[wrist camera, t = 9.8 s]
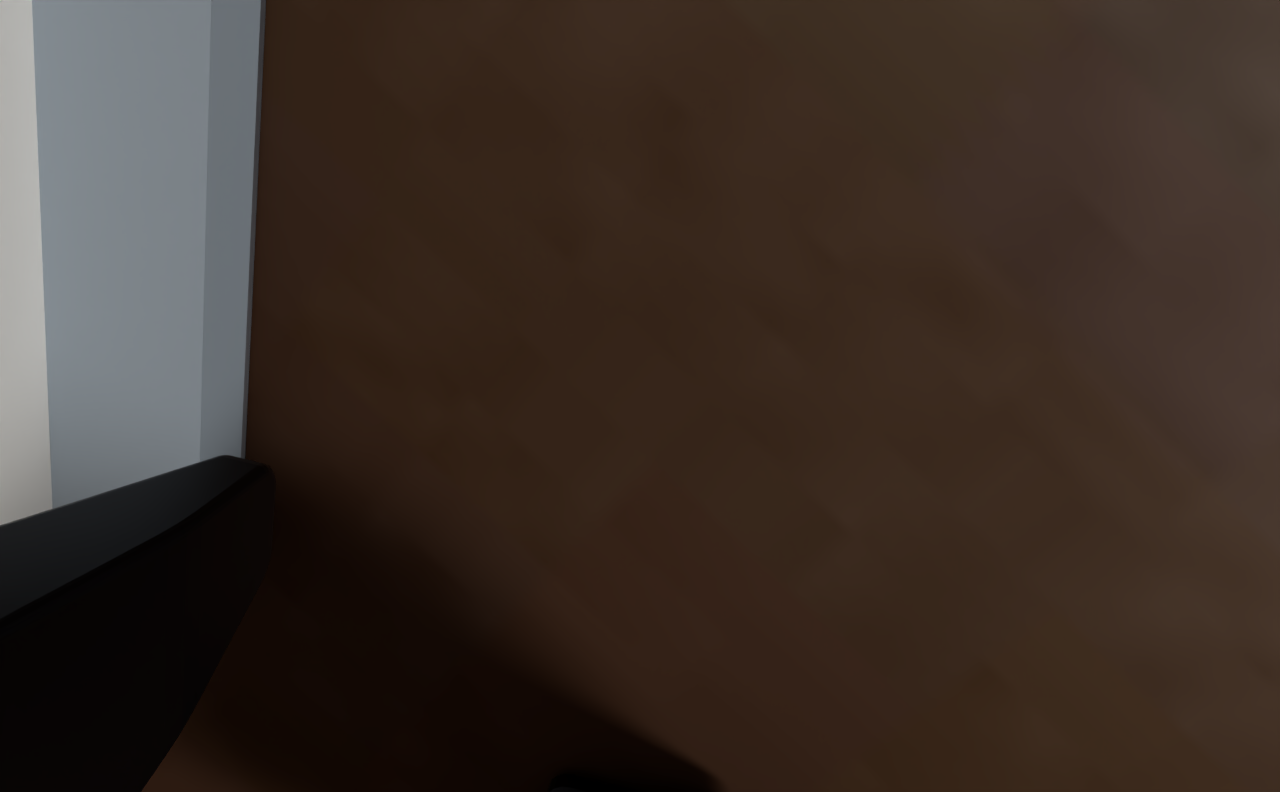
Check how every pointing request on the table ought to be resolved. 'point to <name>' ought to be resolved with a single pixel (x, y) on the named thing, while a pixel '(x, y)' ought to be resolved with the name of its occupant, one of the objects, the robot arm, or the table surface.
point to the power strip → (21, 279)
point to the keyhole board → (146, 231)
